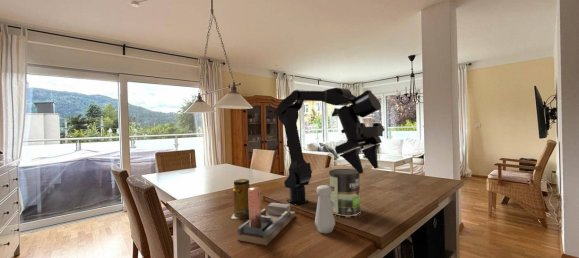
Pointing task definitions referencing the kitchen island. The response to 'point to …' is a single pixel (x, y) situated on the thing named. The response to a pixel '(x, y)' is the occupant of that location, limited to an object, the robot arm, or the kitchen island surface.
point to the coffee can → (345, 191)
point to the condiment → (241, 199)
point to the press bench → (280, 220)
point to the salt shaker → (324, 210)
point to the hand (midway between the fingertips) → (369, 170)
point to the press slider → (256, 214)
